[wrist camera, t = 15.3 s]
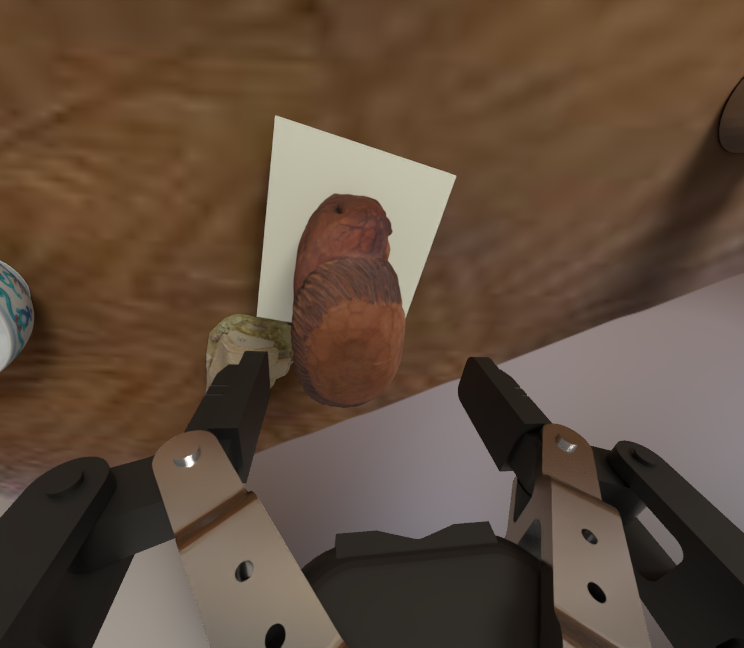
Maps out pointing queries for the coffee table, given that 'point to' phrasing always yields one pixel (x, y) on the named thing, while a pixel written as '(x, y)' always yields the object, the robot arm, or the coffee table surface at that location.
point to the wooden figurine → (346, 303)
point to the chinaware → (13, 314)
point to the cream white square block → (343, 176)
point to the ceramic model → (249, 344)
